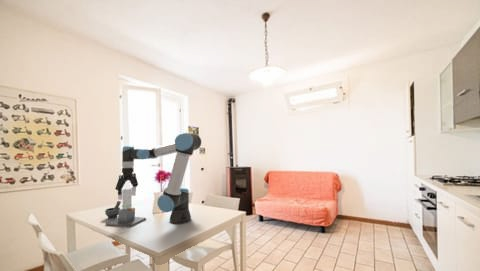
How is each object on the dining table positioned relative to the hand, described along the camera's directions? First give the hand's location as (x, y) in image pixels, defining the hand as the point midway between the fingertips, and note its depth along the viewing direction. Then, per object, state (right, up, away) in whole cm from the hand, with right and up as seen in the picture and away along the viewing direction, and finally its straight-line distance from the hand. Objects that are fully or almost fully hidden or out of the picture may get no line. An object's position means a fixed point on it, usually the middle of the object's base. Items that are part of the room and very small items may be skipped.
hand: (127, 197), depth 153 cm
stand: (0, -18, -1) cm, 18 cm away
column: (0, -11, -1) cm, 11 cm away
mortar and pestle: (-16, -19, +10) cm, 26 cm away
